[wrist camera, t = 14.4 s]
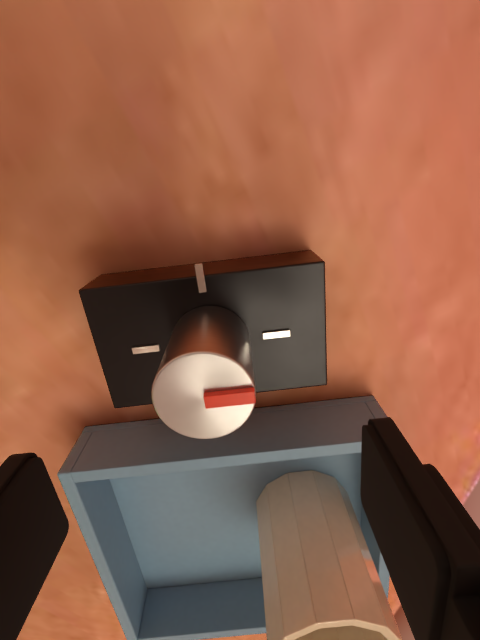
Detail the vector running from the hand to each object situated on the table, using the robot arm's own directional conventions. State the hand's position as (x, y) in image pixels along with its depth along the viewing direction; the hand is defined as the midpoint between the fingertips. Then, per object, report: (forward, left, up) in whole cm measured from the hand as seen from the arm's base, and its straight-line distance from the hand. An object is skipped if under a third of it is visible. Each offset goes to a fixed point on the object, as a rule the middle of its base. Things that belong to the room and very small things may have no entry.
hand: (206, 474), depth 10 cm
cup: (+4, -15, -11) cm, 19 cm away
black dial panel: (0, 0, -12) cm, 11 cm away
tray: (0, -15, -12) cm, 19 cm away
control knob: (0, 0, -8) cm, 8 cm away
